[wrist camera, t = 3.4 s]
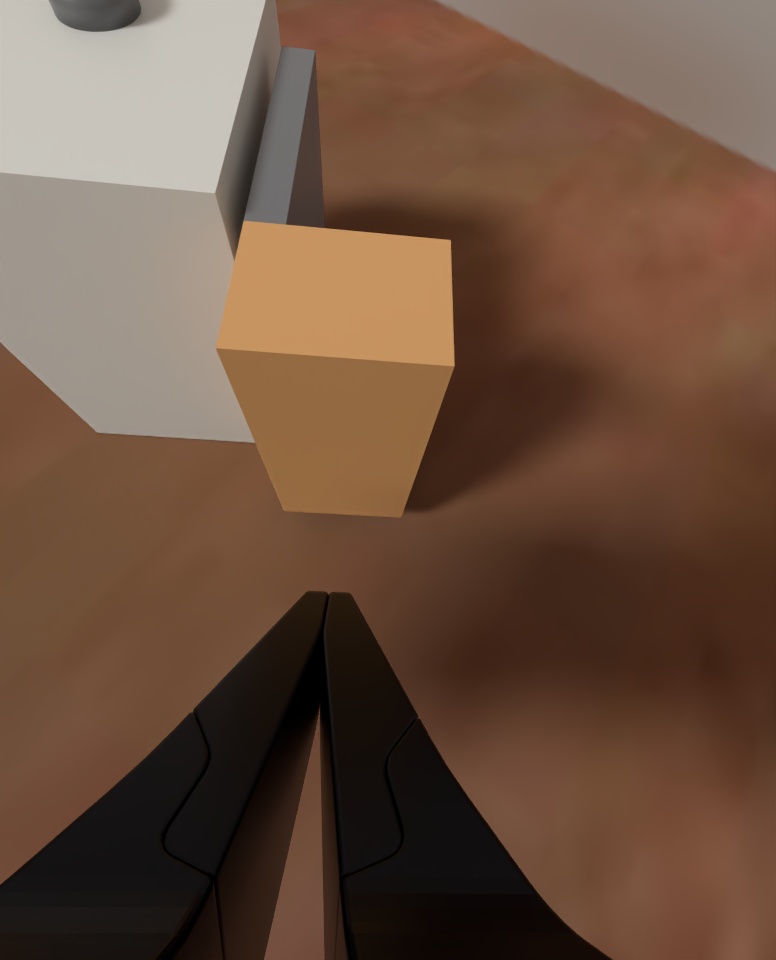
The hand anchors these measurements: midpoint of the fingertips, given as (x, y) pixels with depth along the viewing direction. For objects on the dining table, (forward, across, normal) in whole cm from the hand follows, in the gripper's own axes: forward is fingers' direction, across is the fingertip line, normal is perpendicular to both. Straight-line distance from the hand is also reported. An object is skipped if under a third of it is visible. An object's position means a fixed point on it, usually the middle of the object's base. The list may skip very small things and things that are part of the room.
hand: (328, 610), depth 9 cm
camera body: (+12, +6, -3) cm, 14 cm away
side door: (+10, 0, -2) cm, 10 cm away
